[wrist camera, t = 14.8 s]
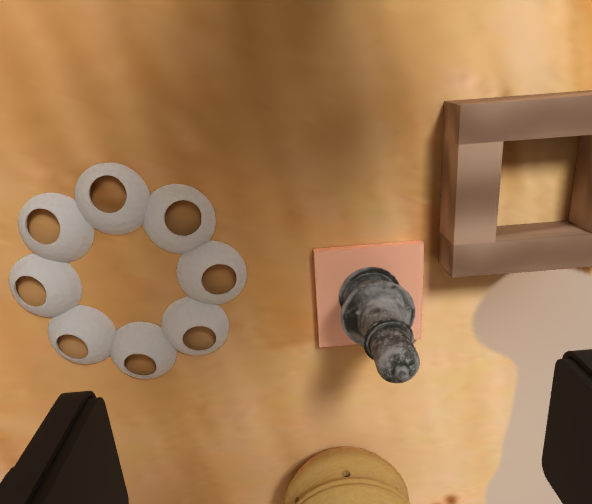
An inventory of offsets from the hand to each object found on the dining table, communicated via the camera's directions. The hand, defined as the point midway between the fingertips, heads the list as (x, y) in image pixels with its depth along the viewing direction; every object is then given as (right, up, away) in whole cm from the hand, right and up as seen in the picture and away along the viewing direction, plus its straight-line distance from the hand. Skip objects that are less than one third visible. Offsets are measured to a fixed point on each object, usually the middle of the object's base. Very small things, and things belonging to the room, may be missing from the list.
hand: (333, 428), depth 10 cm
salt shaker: (+5, 0, +32) cm, 33 cm away
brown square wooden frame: (+18, +9, +30) cm, 36 cm away
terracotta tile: (+5, 0, +33) cm, 33 cm away
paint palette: (-15, +2, +32) cm, 35 cm away
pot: (+4, -19, +40) cm, 44 cm away
